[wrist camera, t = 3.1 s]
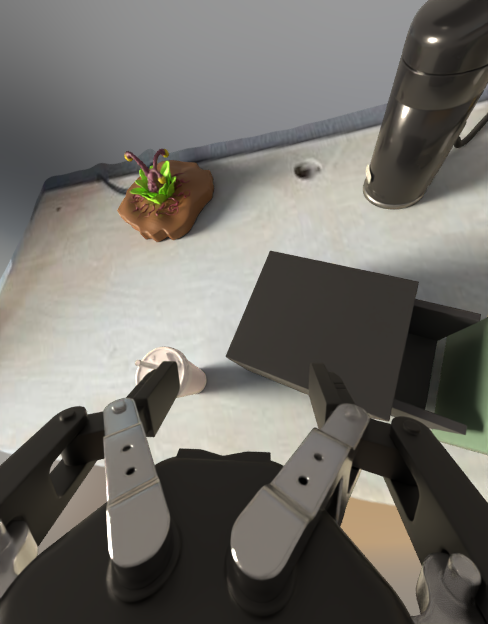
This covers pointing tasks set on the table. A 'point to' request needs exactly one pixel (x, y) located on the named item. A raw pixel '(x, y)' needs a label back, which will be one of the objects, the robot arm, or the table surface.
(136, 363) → the smoothie
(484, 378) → the drawer
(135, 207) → the plant
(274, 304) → the cabinet
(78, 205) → the table surface
